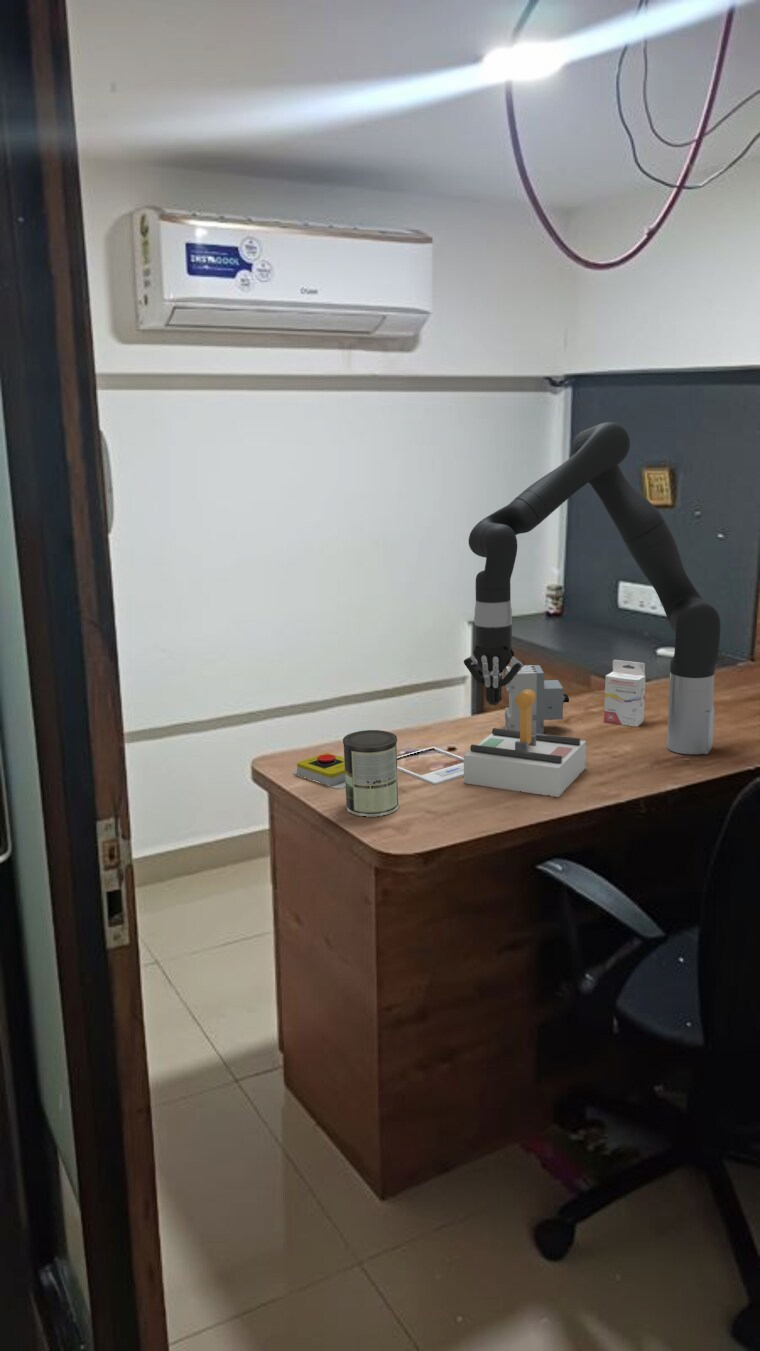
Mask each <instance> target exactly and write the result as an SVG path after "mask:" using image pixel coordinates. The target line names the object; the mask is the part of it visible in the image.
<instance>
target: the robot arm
mask: <svg viewBox="0 0 760 1351" xmlns="http://www.w3.org/2000/svg"><path fill="white" fill-rule="evenodd" d="M571 447H572V448H571V452H572V455H571V456H570V457H569V458H568V459H567V460H566V461H564V462H563V463H562V464H560V465H559V466H558V467H556V468H554V469H553V470H552V471H550V472H548V473H547V474H546V475H544V476H542V477H541V478H539V479H538V480H537V481H535V482H534V483H532V484H530V486H528V487H527V488H526V489H524V490H523V491H522V492H521V493H520V494H519V495H518V496H516V497H515V498H514V499H513V500H512V501H511V502H510V503H508V504H507V505H505V506H503V507H501V508H500V509H497V510H496V511H494V512H493V513H491V514H489V515H488V516H486V517H484V518H483V519H482V520H480V521H479V522H478V523H476V524H475V526H474V527H473V528H472V529H471V531H470V533H469V536H468V546H469V549H470V550H471V551H472V552H473V554H474V555H477V556H478V557H482V558H485V564H484V569H483V570H481V571H479V572H478V573H476V577H475V606H474V616H473V621H474V645H475V646H474V649H473V651H472V652H473V653H472V654H471V655H470V656H469V657H467V658H466V659H464V660H463V664H464V666H465V667H466V668H467V670H468V671H469V672H470V674H471V676H472V677H473V678H474V680H475V681H476V682H477V683H478V684H479V685H480V684H482V685H483V686H485V695H486V696H485V699H486V701H487V702H488V705H490V706H497V705H499V703H501V701H502V690H503V688H502V687H506V685H507V684H508V683H510V682H511V680H512V679H513V678H514V677H515V676H516V674H517V673H518V672H519V671H520V669H521V668H522V667H523V666H525V662H524V661H523V660H518V659H517V657H515V652H514V651H513V624H512V623H513V612H512V610H513V609H512V602H511V579H512V575H513V570H514V567H515V562H516V557H517V554H518V539H517V535H520V534H525V533H529V532H531V531H532V530H534V529H535V528H536V527H538V526H539V525H540V524H541V523H542V522H543V521H544V520H546V518H548V517H549V516H550V515H551V514H553V512H555V511H556V510H557V509H558V508H559V507H560V506H561V505H563V504H564V503H565V502H566V501H567V500H568V499H569V498H571V497H572V496H573V495H574V494H575V493H576V492H578V491H579V490H580V489H581V488H583V487H584V486H585V485H587V484H588V483H589V485H590V486H591V488H592V489H593V490H594V492H595V493H596V495H597V496H598V497H599V499H600V500H601V503H602V504H603V506H604V508H605V510H606V511H607V513H608V515H609V517H610V519H611V520H612V522H613V523H614V525H615V527H616V529H617V530H618V532H619V534H620V537H621V539H622V541H623V542H624V545H625V546H626V548H627V549H628V551H629V553H630V554H631V557H632V558H633V559H634V561H635V563H636V565H637V566H638V567H639V569H640V570H641V572H642V573H643V575H644V576H645V578H646V579H647V580H648V582H649V583H650V584H651V586H652V587H653V589H654V591H655V593H656V595H657V597H658V599H659V601H660V603H661V606H662V608H663V611H664V613H665V616H666V618H667V621H668V623H669V626H670V628H671V630H672V631H673V632H674V633H675V640H674V653H673V657H672V658H671V659H670V663H669V689H668V694H669V695H668V709H667V710H668V713H667V715H668V716H667V733H666V734H667V736H666V740H667V741H666V748H667V749H668V750H669V751H670V752H673V753H677V754H680V755H681V754H682V755H683V754H684V755H709V753H710V751H711V750H712V748H713V747H714V746H713V744H714V731H715V730H714V726H715V709H716V708H715V705H714V690H715V689H714V688H715V674H716V672H715V671H716V665H717V664H718V660H719V654H720V653H719V652H720V643H721V642H720V641H721V630H722V629H721V618H720V614H719V613H718V611H717V609H716V608H715V607H714V606H713V605H712V604H710V603H708V602H707V601H706V600H704V598H703V596H701V595H700V593H699V592H698V591H697V589H696V587H695V586H694V584H693V583H692V581H691V580H690V578H689V576H688V575H687V573H686V571H685V568H684V566H683V562H682V558H681V555H680V550H679V548H678V545H677V543H676V540H675V538H674V536H673V533H672V531H671V530H670V528H669V526H668V524H667V522H666V521H665V519H664V517H663V516H662V514H661V512H660V511H659V509H657V507H656V506H655V505H654V504H653V503H652V502H651V501H649V500H648V499H647V498H646V497H645V496H644V495H643V494H641V493H640V492H639V491H638V490H637V489H635V487H633V485H632V484H631V483H629V481H628V480H627V478H626V476H625V475H624V474H623V471H622V469H621V468H620V466H619V464H621V463H622V462H623V461H624V460H625V459H626V457H627V456H628V454H629V451H630V448H631V440H630V436H629V433H628V431H627V430H626V429H625V428H624V427H623V426H622V425H621V424H619V423H616V422H611V421H610V422H609V421H607V422H601V423H599V424H596V425H593V426H592V427H589V428H587V429H584V430H582V431H580V432H579V433H577V435H576V436H575V438H574V439H573V442H572V446H571ZM509 664H510V665H509ZM507 666H510V668H511V670H510V671H509V672H508V674H507V675H506V676H505V670H506V667H507ZM481 668H482V669H481Z"/></svg>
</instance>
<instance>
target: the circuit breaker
mask: <svg viewBox="0 0 760 1351" xmlns="http://www.w3.org/2000/svg"><path fill="white" fill-rule="evenodd" d="M510 670H511V668H510V665H507V667H506V668H505V671H504V677H505V676H506V675H507V674H508V672H509V671H510ZM505 689H506V692H507V693H508V706H507V707H505V708H504V715H505V716H504V720H505V723H504V724H505V725H504V727H505V729H506V730H514V731H520V708H519V707H518V706H517V705H516V702H515V699H516V697H517V695H519V694H520V693H521V692H523V691H524V690H526V689H530V690H532V691H534V692H535V694H536V701H535V702H534V703H533V704H532V733H539V734H544V732H545V730H544V729H545V728H544V725H545V723H544V721H551V720H554V721H556V720H563V719H564V704H565V703H569V702H570V698H569V695H568V694H565V693H564V687H563V686H562V684H561V682H560V681H559V680H558V679H545V673H544V671H543V669H542V667H541V665H539V664H538V665H537V664H535V665H534V664H533V665H532V664H531V665H529V664H528V665H524V666H523V667H522V668H521V669H520V671H519V672H518V673H517V674H516V676H515V677H514V678H513V679H512V680H511V682H510V683H508V684H507V685H505Z"/></svg>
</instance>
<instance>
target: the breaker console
mask: <svg viewBox="0 0 760 1351" xmlns="http://www.w3.org/2000/svg"><path fill="white" fill-rule="evenodd" d="M586 751H587V741H586V740H581V738H578V737H570V736H564V735H563V736H561V735H552V734H539V733H532V734H531V743H529V744H528V742H521V741H520V731H514V730H506V728H505V729H504V728H496V727H493V728H492V730H491V733H490V734H489V735H488V736H487V737H485V738H484V739H483V740H482V741H480V742H479V743H478V744H473V743H472V744H470V748H469V751H467V752H466V753H465V754H463V758H464V761H463V763H464V776H463V784H467V785H468V784H469V785H476V786H482V787H483V786H484V787H488V788H489V787H490V788H495V789H501V790H507V791H508V790H509V791H514V792H520V791H521V793H526V794H527V793H528V794H536V795H540V794H541V796H547V795H550V796H549V797H554V796H555V797H556V798H559V797H560V796H561V795H562V794H563V793H564V792H565V791H566V790H567V789H568V788H569V786H571V784H572V783H573V782H574V781H575V780H576V779H577V778H578V777H579V776H580V775H581V774H582V772H584V770H586V760H587V759H586V757H587V756H586V755H587V754H586V753H587V752H586ZM580 773H581V774H580ZM579 774H580V775H579ZM566 788H567V789H566ZM564 790H565V791H564Z"/></svg>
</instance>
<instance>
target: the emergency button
mask: <svg viewBox="0 0 760 1351" xmlns="http://www.w3.org/2000/svg"><path fill="white" fill-rule="evenodd" d="M296 769H297V770H295V771H293V772H292V774H293V775H294V774H295V775H294V776H297V775H299V776H298V777H300V776H302V777H301V778H303V777H306V778H309V779H311V780H315V781H318V782H320V783H323V784H326V785H329V786H330V787H329V786H328V787H329V788H331V787H333V788H332V789H334V788H337V789H336V790H341V789H340V788H342V789H344V788H346V781H345V761H344V757H343V756H339V755H337V754H334V753H333V754H332V753H330V752H325V753H321V754H318V755H315V756H312V757H309V758H307V759H303V760H300V761H298V762H297V764H296ZM311 780H310V781H311ZM320 783H319V784H320ZM323 784H322V785H323ZM326 785H325V786H326Z"/></svg>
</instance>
